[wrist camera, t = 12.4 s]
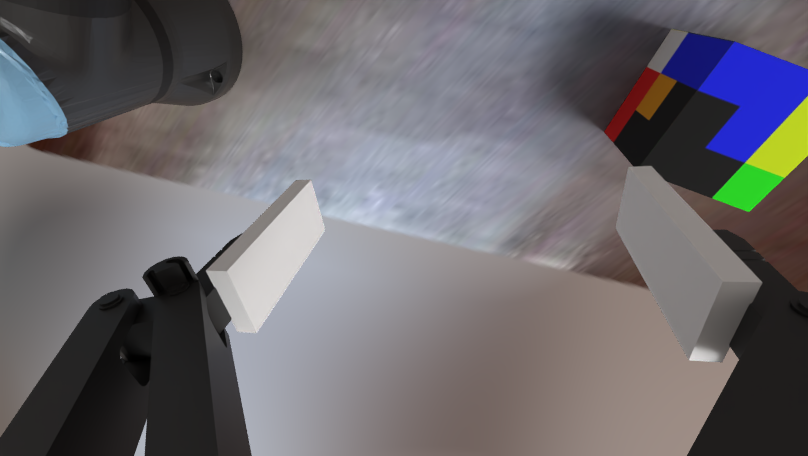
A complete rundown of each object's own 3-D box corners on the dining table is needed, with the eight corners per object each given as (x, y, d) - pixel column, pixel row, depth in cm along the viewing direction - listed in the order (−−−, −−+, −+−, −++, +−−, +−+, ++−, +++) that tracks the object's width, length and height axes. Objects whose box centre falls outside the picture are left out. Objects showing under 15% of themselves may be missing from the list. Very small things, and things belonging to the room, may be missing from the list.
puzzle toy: (671, 28, 33) (734, 41, 24) (774, 67, 33) (871, 93, 25) (603, 131, 38) (636, 170, 30) (692, 164, 38) (748, 211, 30)
